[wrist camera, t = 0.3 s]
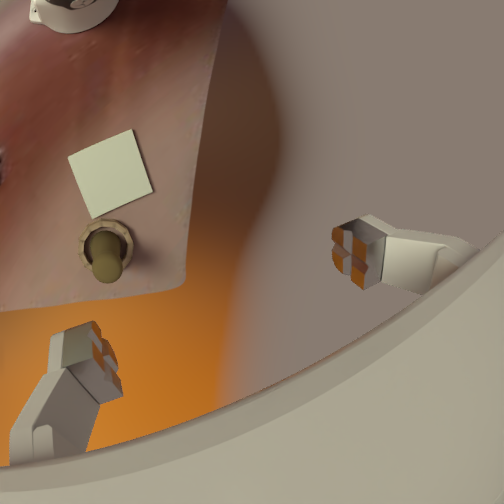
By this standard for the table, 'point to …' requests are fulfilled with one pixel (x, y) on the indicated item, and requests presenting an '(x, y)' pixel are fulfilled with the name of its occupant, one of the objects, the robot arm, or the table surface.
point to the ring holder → (105, 223)
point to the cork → (106, 256)
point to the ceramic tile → (110, 173)
